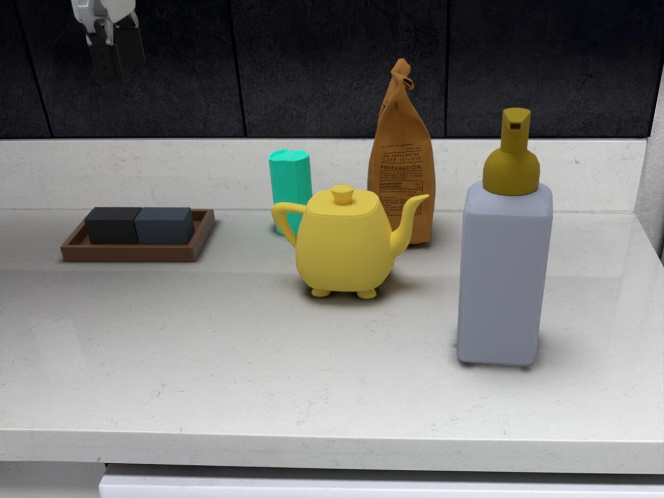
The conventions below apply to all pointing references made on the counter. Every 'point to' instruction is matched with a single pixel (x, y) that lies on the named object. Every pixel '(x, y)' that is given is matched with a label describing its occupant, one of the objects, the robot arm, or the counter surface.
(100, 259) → the brown shallow rectangular tray
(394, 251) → the teapot
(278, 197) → the candle
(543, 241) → the soap bottle
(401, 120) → the coffee package
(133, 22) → the robot arm
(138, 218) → the blue gray block
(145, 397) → the counter surface
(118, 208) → the black rectangular block
